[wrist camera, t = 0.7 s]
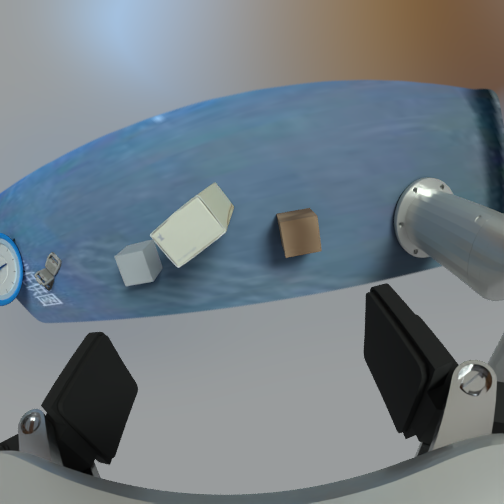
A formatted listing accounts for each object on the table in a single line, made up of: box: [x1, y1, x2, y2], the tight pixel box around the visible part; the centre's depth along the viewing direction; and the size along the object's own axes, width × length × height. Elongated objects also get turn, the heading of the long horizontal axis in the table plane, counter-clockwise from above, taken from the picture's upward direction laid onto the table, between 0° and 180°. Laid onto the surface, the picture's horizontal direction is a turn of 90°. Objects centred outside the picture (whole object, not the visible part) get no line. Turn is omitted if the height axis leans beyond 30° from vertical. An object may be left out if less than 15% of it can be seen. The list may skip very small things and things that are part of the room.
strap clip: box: [35, 252, 61, 290], centre depth 37 cm, size 8×3×4 cm, turn 137°
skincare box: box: [150, 183, 234, 268], centre depth 30 cm, size 6×4×12 cm
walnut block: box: [277, 208, 321, 258], centre depth 34 cm, size 4×4×4 cm
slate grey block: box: [115, 240, 163, 286], centre depth 36 cm, size 4×4×4 cm
